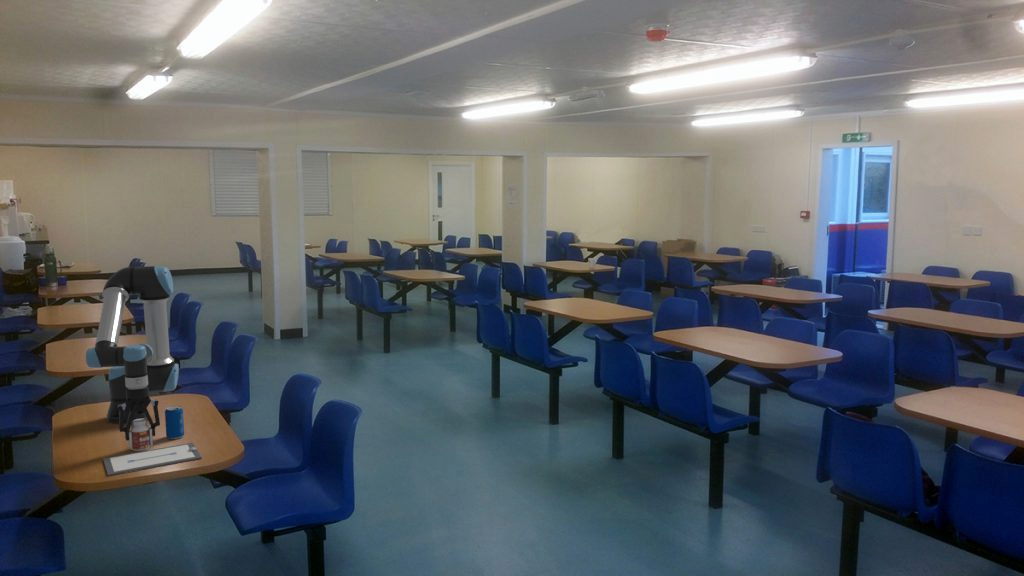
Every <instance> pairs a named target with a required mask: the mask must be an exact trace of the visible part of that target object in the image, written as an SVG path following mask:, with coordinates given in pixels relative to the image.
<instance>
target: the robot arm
mask: <svg viewBox="0 0 1024 576" xmlns="http://www.w3.org/2000/svg"><path fill="white" fill-rule="evenodd" d="M104 284H105V285H104V286H103V289H102V294H101V295H102V297H103V303H102V309H101V314H100V320H99V325H98V328H97V335H96V338H95V344H94V346H93V347H89V348H87V350H86V352H85V361H86V362H85V363H86V365H87V367H89V368H91V369H92V368H93V369H94V368H95V369H97V368H98V369H102V368H110V369H109V370H108V385H109V398H110V401H109V402H110V403H109V406H108V409H107V413H106V421H107V422H109V423H112V424H119V425H118V427H119V428H118V429H119V432H121V433H124V435H125V436H124V438H125V441H126V442H127V441H128V445H129V449H130V450H132V449H133V448H132V434H131V426H132V424H133V420H136V419H146V420H147V421H148V423H149V425H150V426H149V434H150V447H153V445H154V442H153V441H154V440H153V437H156V427H160V425H161V423H160V421H161V420H160V413H159V408H158V406H159V400H158V399H156V398H155V399H151V397H150V393H151V394H152V393H165V392H173V391H174V390H175V389H176V388H177V385H178V380H179V374H180V373H179V371H180V369H179V368H180V367H179V365H180V364H179V363H175V358H173V357H172V356H171V354H170V353H171V352H170V340H169V324H168V312H167V311H168V310H167V302H168V300H169V299H170V298H171V294H173V293H174V281H173V276H172V274H171V271H170V269H169V268H168V267H166V266H160V265H151V266H149V265H147V266H126V267H123V268H121V269H119V270H117V271H115V272H114V273H113V274H112V275H111V276H110V277H109V279H107V281H106V283H104ZM130 296H138V300H139V301H140V302H142V303H143V314H144V326H145V327H144V329H145V342H146V343H138V344H132V345H128V346H124V345H123V346H119V345H118V344H119V339H120V336H121V335H120V334H121V327H122V323H123V318H124V317H123V316H124V311H125V306H126V305H125V304H126V302H128V300H129V298H130ZM149 405H151V406H152V407H153V408H152V409H153V415H154V421H155V422H154V421H153V420H152V417H151V415H150V413H149V410H148V406H149ZM125 423H126V424H125ZM124 425H125V426H124Z"/></svg>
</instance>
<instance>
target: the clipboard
mask: <svg viewBox="0 0 1024 576" xmlns="http://www.w3.org/2000/svg"><path fill="white" fill-rule="evenodd" d="M202 459H203V458H202V456H201V454H200V452H199V451H198V449H197V447H196V446H195V445H194V443H193V442H188V443H184V444H183V443H182V444H177V445H171V446H166V447H160V448H159V447H158V448H154V449H147V450H144V451H135V452H131V453H126V454H119V455H113V456H108V457H103V459H102V461H103V464H104V467H105V471H106V473H107V476H108V477H112V476H116V475H122V473H123V474H126V473H125V472H128V473H131V472H130V471H134V472H136V471H135V470H139V471H143V470H142V469H144V470H149V468H150V469H154V468H159V467H160V468H161V467H166V466H170V465H176V464H181V463H186V462H191V461H197V460H202Z"/></svg>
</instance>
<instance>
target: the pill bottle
mask: <svg viewBox="0 0 1024 576" xmlns="http://www.w3.org/2000/svg"><path fill="white" fill-rule="evenodd" d="M147 421H148V420H147V418H143V419H136V420H133V422H132V427H130V430H131V434H132V448H133V449H131V450H132V451H133V452H142V451H147V450H150V448H151V446H150V434H149V427H150V426H149V425H148V424H147Z"/></svg>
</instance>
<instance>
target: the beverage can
mask: <svg viewBox="0 0 1024 576" xmlns="http://www.w3.org/2000/svg"><path fill="white" fill-rule="evenodd" d="M164 417H165V418H164V420H165V421H164V422H165V433H166V434H165V435H166V436H165V437H166V438H168V439H169V440H178V439H181V438H183V436H185V424H184V423H185V422H184V408H182V406H181V405H170V406H168V407H165V411H164Z"/></svg>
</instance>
